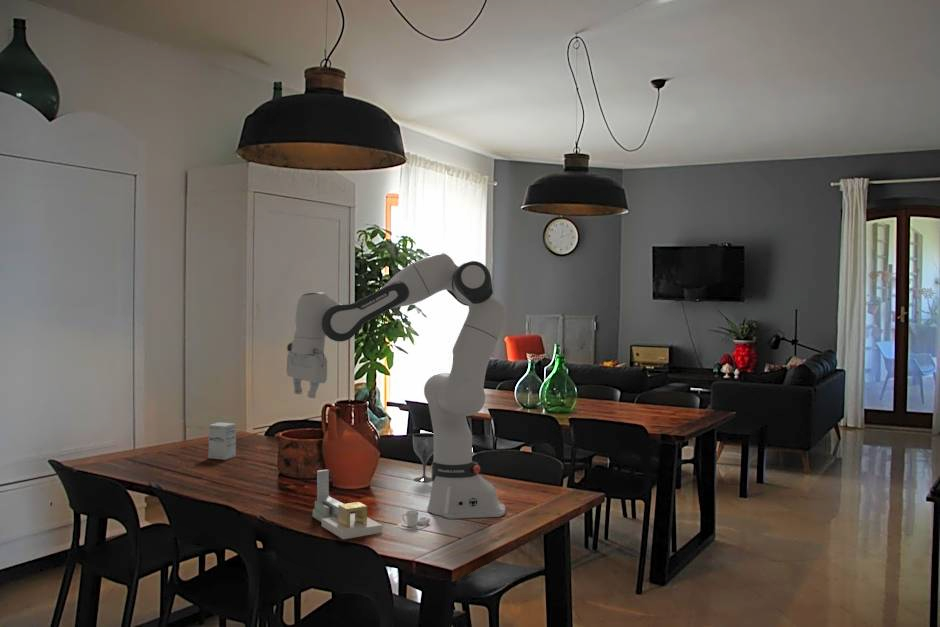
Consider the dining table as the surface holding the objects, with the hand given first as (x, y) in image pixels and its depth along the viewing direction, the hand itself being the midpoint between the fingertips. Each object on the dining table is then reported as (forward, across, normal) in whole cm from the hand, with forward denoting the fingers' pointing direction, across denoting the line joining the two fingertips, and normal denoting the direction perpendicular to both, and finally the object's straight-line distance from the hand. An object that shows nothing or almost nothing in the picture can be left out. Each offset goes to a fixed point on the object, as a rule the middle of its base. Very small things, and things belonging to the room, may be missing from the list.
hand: (304, 395), depth 230 cm
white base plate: (+32, -27, -4) cm, 42 cm away
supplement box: (+33, +80, -6) cm, 87 cm away
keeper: (+30, -28, -4) cm, 41 cm away
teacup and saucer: (+31, -35, -21) cm, 51 cm away
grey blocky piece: (+32, -14, -4) cm, 35 cm away
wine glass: (+29, +10, -50) cm, 59 cm away
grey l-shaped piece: (+30, -16, -4) cm, 34 cm away
